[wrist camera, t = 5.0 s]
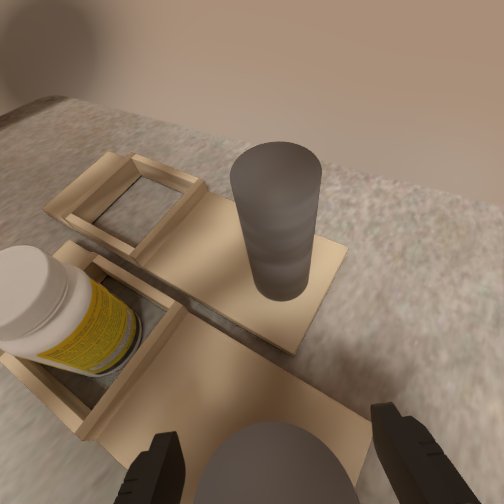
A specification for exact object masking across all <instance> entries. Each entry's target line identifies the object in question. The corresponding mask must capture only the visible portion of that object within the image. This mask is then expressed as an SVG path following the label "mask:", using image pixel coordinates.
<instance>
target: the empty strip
mask: <svg viewBox="0 0 504 504" xmlns="http://www.w3.org/2000/svg"><path fill="white" fill-rule="evenodd" d="M141 175H142V176H144V177H146V178H149V179H151V180H153V181H156V182H158V183H161V184H163V185H165V186H168V187H170V188H172V189H175V190H177V191H179V192H182V193H184V195H183V196H182V197H181V198H180V199H179V200H178V201H177V203H176V204H175V205H174V206H173V207H172V208H171V209H170V210H169V211H168V212H167V214H166V215H165V216H164V217H163V218H162V219H161V220H160V221H159V222H158V223H157V225H156V226H155V227H154V228H153V229H152V230H151V231H150V232H149V233H148V235H147V236H146V237H145V238H144V239H143V240H142V241H141V242H140V243H139V244H138V246H137V247H136V248H133V247H131V246H130V245H128V244H126V243H124V242H122V241H120V240H119V239H117V238H115V237H113V236H111V235H110V234H108V233H106V232H104V231H102V230H101V229H99V228H97V227H95V226H93V225H92V224H91V223H92V222H94V221H95V220H96V219H97V218H98V217H99V216H100V215H101V214H102V213H103V212H104V211H105V210H106V209H107V208H108V207H109V206H110V205H111V204H112V203H113V202H114V201H115V200H116V199H117V198H118V197H119V196H120V195H121V194H122V193H123V192H124V191H126V190H127V189H128V188H129V187H130V186H131V185H132V184H133V183H134V182H135V181H136V180H137V179H138V178H139V177H140V176H141ZM321 176H322V168H321V164H320V162H319V160H318V158H317V157H316V156H315V155H314V154H313V153H312V152H311V151H310V150H308V149H307V148H305V147H302V146H300V145H297V144H294V143H289V142H270V143H264V144H260V145H257V146H255V147H253V148H251V149H249V150H247V151H245V152H244V153H243V154H242V155H240V156H239V157H238V158H237V160H236V161H235V162H234V164H233V166H232V168H231V171H230V182H231V187H232V191H233V195H234V199H235V202H234V201H231V200H229V199H226V198H224V197H221V196H219V195H216V194H214V193H211V192H209V191H208V189H207V186H206V183H205V180H202V179H199V178H197V177H194V176H192V175H189V174H187V173H184V172H181V171H179V170H176V169H174V168H171V167H169V166H166V165H163V164H161V163H158V162H156V161H153V160H150V159H148V158H145V157H143V156H140V155H138V154H135V153H132V152H131V153H129V154H128V155H127V156H126V157H125V158H124V157H122V156H119V155H117V154H114V153H112V152H109V151H108V152H107V153H106V154H105V155H103V156H102V157H101V158H100V159H99V160H98V161H96V162H95V163H94V164H93V165H92V166H91V167H89V168H88V169H87V170H86V171H85V172H84V173H82V174H81V175H80V176H79V177H78V178H77V179H76V180H74V181H73V182H72V183H71V184H70V185H69V186H67V187H66V188H65V189H64V190H63V191H62V192H60V193H59V194H58V195H57V196H56V197H55V198H53V199H52V200H51V201H50V202H49V203H48V204H46V205H45V206H44V207H43V208H42V210H43V211H44V212H46V213H47V214H48V215H49V216H51V217H53V218H55V219H56V220H58V221H60V222H61V223H63V224H65V225H67V226H68V227H70V228H72V229H73V230H75V231H77V232H79V233H80V234H82V235H84V236H86V237H87V238H89V239H91V240H92V241H94V242H96V243H98V244H99V245H101V246H103V247H104V248H106V249H108V250H110V251H111V252H113V253H115V254H117V255H118V256H120V257H122V258H123V259H125V260H127V261H129V262H130V263H132V264H134V265H135V266H137V267H139V268H141V269H142V270H144V271H146V272H148V273H149V274H151V275H153V276H154V277H156V278H158V279H160V280H161V281H163V282H165V283H166V284H168V285H170V286H172V287H173V288H175V289H177V290H179V291H180V292H182V293H184V294H185V295H187V296H189V297H191V298H192V299H194V300H196V301H197V302H199V303H201V304H203V305H204V306H206V307H208V308H210V309H211V310H213V311H215V312H216V313H218V314H220V315H222V316H223V317H225V318H227V319H228V320H230V321H232V322H234V323H235V324H237V325H239V326H241V327H242V328H244V329H246V330H247V331H249V332H251V333H253V334H254V335H256V336H258V337H259V338H261V339H263V340H265V341H266V342H268V343H270V344H272V345H273V346H275V347H277V348H278V349H280V350H282V351H284V352H285V353H287V354H289V355H290V356H292V357H294V356H295V354H296V352H297V350H298V348H299V346H300V344H301V342H302V341H303V339H304V337H305V335H306V333H307V331H308V329H309V327H310V325H311V323H312V321H313V319H314V317H315V315H316V313H317V311H318V309H319V307H320V305H321V303H322V301H323V299H324V298H325V296H326V294H327V292H328V290H329V288H330V286H331V284H332V282H333V280H334V278H335V276H336V274H337V272H338V270H339V268H340V266H341V264H342V262H343V260H344V258H345V256H346V255H347V252H348V249H349V248H348V247H346V246H343V245H341V244H338V243H336V242H333V241H331V240H328V239H326V238H323V237H321V236H318V235H316V234H314V233H315V225H316V216H317V208H318V200H319V192H320V184H321Z"/></svg>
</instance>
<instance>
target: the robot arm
mask: <svg viewBox="0 0 504 504" xmlns="http://www.w3.org/2000/svg"><path fill="white" fill-rule="evenodd" d="M371 421H372V433H373V442H374V446H375V449H376V452H377V455H378V458H379V460H380V462H381V464H382V466H383V468H384V471H385V473H386V475H387V477H388V479H389V481H390V483H391V485H392V488H393V490H394V492H395V494H396V496H397V498H398V500H399V503H400V504H481V503H480V501H479V500H478V499H477V497H476V496H475V495H474V493H473V492H472V490H471V489H470V488H469V486H468V485H467V483H466V482H465V481H464V479H463V478H462V477H461V475H460V474H459V472H458V471H457V470H456V468H455V467H454V465H453V464H452V463H451V461H450V460H449V459H448V457H447V456H446V455H445V454H444V452H443V450H442V449H441V447H440V446H439V445H438V443H436V441H435V439H434V438H433V436H432V435H431V434H430V432H429V431H428V430H427V428H426V427H425V426H424V425H423V424H421V423H420V422H419V421H417V420H416V419H415V418H414V417H412V416H405V417H402V416H401V415H400V413H399V411H398V410H397V408H396V407H395V405H394V404H393V403H392V402H387V403H380V404H373V405H371ZM185 476H186V467H185V460H184V457H183V453H182V449H181V445H180V441H179V437H178V434H177V432H176V431H171V432H164V433H157V434H155V436H154V437H153V440H152V442H151V445H150V448H149V450H148V451H141V452H140V454H139V455H138V456H137V457H136V459H135V460H134V461H133V462H132V464H131V465H130V467H129V469H128V472H127V474H126V476H125V478H124V483H123V484H122V485H121V488H120V490H119V492H118V497H116V499H115V502H114V504H180V501H181V497H182V493H183V488H184V484H185Z"/></svg>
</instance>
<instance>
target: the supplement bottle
mask: <svg viewBox="0 0 504 504" xmlns="http://www.w3.org/2000/svg"><path fill="white" fill-rule="evenodd" d="M141 334H142V326H141V321H140V319H139V317H138V315H137V313H136V312H135V311H134V310H133V309H132V308H131V307H129V306H128V305H127V304H126V303H124V302H123V301H122V300H120V299H119V298H118V297H117V296H115V295H114V294H113V293H112V292H110V291H109V290H108V289H106V288H105V287H104V286H103V285H101V284H100V283H99V282H97V281H96V280H95V279H93V278H92V277H91V276H90V275H88V274H87V273H86V272H85V271H83V270H81V269H80V268H78V267H76V266H74V265H71V264H67V263H61V262H60V261H59V260H57V259H56V258H54V257H52V256H50V255H48V254H47V253H45V252H44V251H42V250H41V249H39V248H36V247H33V246H29V245H19V246H13V247H9V248H6V249H3V250H1V251H0V349H1V350H3V351H5V352H6V353H8V354H11V355H13V356H16V357H20V358H23V359H27V360H31V361H35V362H38V363H42V364H45V365H49V366H53V367H56V368H60V369H63V370H67V371H70V372H74V373H78V374H81V375H84V376H89V377H100V376H105V375H108V374H111V373H113V372H115V371H117V370H119V369H120V368H122V367H123V366H124V365H125V364H126V363H127V362H128V361H129V360H130V359H131V358H132V357H133V355H134V354H135V352H136V350H137V348H138V346H139V343H140V340H141Z"/></svg>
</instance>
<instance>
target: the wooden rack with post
mask: <svg viewBox="0 0 504 504" xmlns="http://www.w3.org/2000/svg"><path fill="white" fill-rule="evenodd" d="M52 257H54V258H56V259H57V260H59V261H60V262H61V263H67V264H71V265H74V266H76V267H78V268H80V269H81V270H83V271H85V272H86V273H87V274H88V275H90V276H91V277H92V278H93V279H95V280H96V281H97V282H99V283H101V282H102V280H103V279H104V278H105V277H106V276H107V275H109V276H111V277H112V278H114V279H116V280H117V281H119V282H120V283H122V284H123V285H125V286H127V287H128V288H130V289H131V290H133V291H135V292H136V293H138V294H139V295H141V296H143V297H144V298H146V299H147V300H149V301H151V302H152V303H154V304H155V305H157V306H159V307H160V308H162V309H163V310H165V311H167V312H166V313H165V315H164V316H163V317H162V319H161V320H160V321H159V322H158V324H157V325H156V326H155V328H154V329H153V330H152V332H151V333H150V334H149V336H148V337H147V338H146V340H145V341H144V342H143V344H142V345H141V346H140V348H139V349H138V350H137V351H136V353H135V354H134V355H133V357H132V358H131V359H130V361H129V362H128V363H127V365H126V366H125V367H124V369H123V370H122V371H121V373H120V374H119V375H118V377H117V378H116V379H115V380H114V382H113V383H112V384H111V386H110V387H109V388H108V390H107V391H106V392H105V394H104V395H103V396H102V398H101V399H100V400H99V402H98V403H97V404H96V406H95V407H94V408H93V409H92V410H90V409H89V408H88V407H87V406H86V405H85V404H84V403H83V402H82V401H80V400H79V399H78V398H77V397H76V396H75V395H74V394H73V393H72V392H70V391H69V390H68V389H67V388H66V387H65V386H64V385H63V384H61V383H60V382H59V381H58V380H57V379H56V378H55V377H54V376H53V375H51V374H50V373H49V372H48V371H47V370H46V369H45V368H44V367H43V366H41V365H40V364H39V363H38V362H35V361H31V360H27V359H23V358H20V357H16V356H13V355H11V354H8V353H6V352H5V351H3V350H1V349H0V361H1V362H2V363H3V364H4V365H5V366H6V367H7V368H8V369H9V370H10V371H11V372H12V373H13V374H14V375H15V376H16V377H17V378H18V379H19V380H20V381H21V382H22V383H23V384H24V385H25V386H26V387H27V388H28V389H29V390H30V391H31V392H33V393H34V394H35V395H36V396H37V397H38V398H39V399H40V400H41V401H42V402H43V403H44V404H45V405H46V406H47V407H48V408H49V409H50V410H51V411H52V412H53V413H54V414H55V415H56V416H57V417H58V418H59V419H60V420H61V421H62V422H63V423H64V424H65V425H66V426H67V427H69V428H70V429H71V430H72V431H73V432H74V433H75V434H76V435H77V436H78V437H79V438H80V439H81V440H82V441H90V440H96V441H97V442H98V443H99V444H101V445H102V446H103V447H104V448H105V449H106V450H107V451H108V452H109V453H110V454H111V455H112V456H113V457H114V458H115V459H116V460H117V461H118V462H120V463H121V464H122V465H123V466H124V467H125V468H126V469H127V470H128V469H129V467H130V465H131V464H132V462H133V461H134V460H135V459H136V457H137V456H138V455H139V454H140V452H141V451H148V450H149V448H150V445H151V442H152V440H153V437H154V436H155V434H157V433H164V432H171V431H176V432H177V434H178V437H179V441H180V445H181V449H182V453H183V457H184V460H185V467H186V476H185V484H184V488H183V493H182V497H181V501H180V504H359V500H358V497H357V494H356V492H355V487H356V484H357V481H358V478H359V475H360V472H361V469H362V467H363V464H364V461H365V458H366V455H367V452H368V449H369V446H370V444H371V441H372V438H373V433H372V423H371V422H370V421H368V420H366V419H365V418H363V417H361V416H360V415H358V414H356V413H355V412H353V411H351V410H350V409H348V408H346V407H345V406H343V405H341V404H340V403H338V402H337V401H335V400H333V399H332V398H330V397H328V396H327V395H325V394H323V393H322V392H320V391H318V390H317V389H315V388H313V387H312V386H310V385H308V384H307V383H305V382H303V381H302V380H300V379H299V378H297V377H295V376H294V375H292V374H290V373H289V372H287V371H285V370H284V369H282V368H280V367H279V366H277V365H275V364H274V363H272V362H270V361H269V360H267V359H265V358H264V357H262V356H261V355H259V354H257V353H256V352H254V351H252V350H251V349H249V348H247V347H246V346H244V345H242V344H241V343H239V342H237V341H236V340H234V339H232V338H231V337H229V336H227V335H226V334H224V333H223V332H221V331H219V330H218V329H216V328H214V327H213V326H211V325H209V324H208V323H206V322H204V321H203V320H201V319H199V318H198V317H196V316H194V315H193V314H191V313H189V312H188V311H187V309H186V308H185V307H184V306H183V305H182V304H180V303H179V302H177V301H175V300H174V299H172V298H170V297H169V296H167V295H165V294H164V293H162V292H160V291H159V290H157V289H155V288H154V287H152V286H150V285H149V284H147V283H145V282H144V281H142V280H140V279H139V278H137V277H135V276H134V275H132V274H130V273H129V272H127V271H125V270H124V269H122V268H120V267H119V266H117V265H115V264H114V263H112V262H110V261H109V260H107V259H105V258H104V257H102V256H100V255H99V254H97V253H95V252H94V251H93V252H92V253H90V252H89V251H87V250H85V249H84V248H82V247H80V246H79V245H77V244H76V243H74V242H72V241H71V240H68V241H67V242H66V243H65V244H64V245H63V246H62V247H61V248H60V249H59V250H58V251H57V252H56V253H55V254H54V255H52Z"/></svg>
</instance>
